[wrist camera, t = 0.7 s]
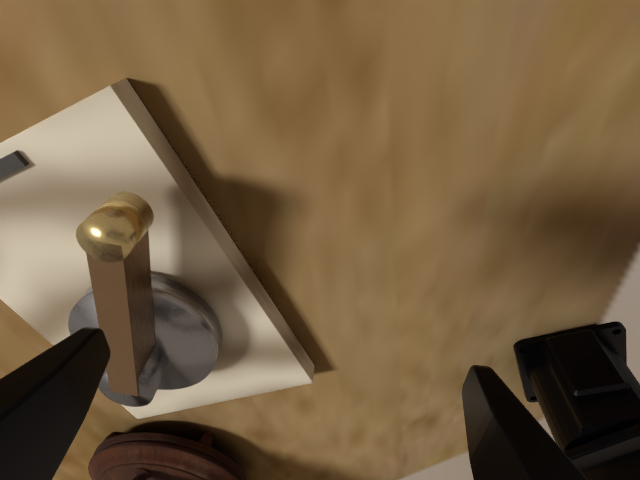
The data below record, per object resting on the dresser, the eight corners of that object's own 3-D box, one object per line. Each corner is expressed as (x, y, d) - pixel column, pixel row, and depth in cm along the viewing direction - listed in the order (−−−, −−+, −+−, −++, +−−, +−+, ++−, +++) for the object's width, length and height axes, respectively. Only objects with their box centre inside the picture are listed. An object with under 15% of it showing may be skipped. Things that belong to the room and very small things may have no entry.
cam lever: (218, 380, 28) (199, 437, 25) (92, 356, 28) (55, 411, 24) (235, 195, 20) (210, 243, 16) (52, 156, 19) (-15, 196, 16)
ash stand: (314, 365, 29) (312, 386, 28) (145, 402, 34) (136, 422, 32) (126, 78, 18) (106, 87, 17) (-86, 188, 23) (-117, 203, 21)
